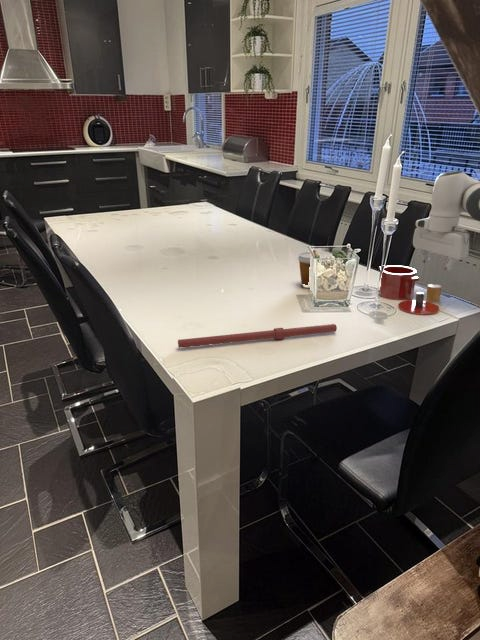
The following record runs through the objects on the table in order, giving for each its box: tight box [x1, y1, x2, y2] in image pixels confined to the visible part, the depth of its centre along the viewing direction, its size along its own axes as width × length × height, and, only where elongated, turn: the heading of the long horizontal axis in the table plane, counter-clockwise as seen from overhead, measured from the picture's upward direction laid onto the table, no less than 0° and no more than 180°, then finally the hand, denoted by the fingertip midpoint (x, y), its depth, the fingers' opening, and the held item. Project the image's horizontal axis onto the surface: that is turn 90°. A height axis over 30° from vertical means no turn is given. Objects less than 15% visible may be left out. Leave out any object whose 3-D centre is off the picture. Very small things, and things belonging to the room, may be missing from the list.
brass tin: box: [425, 283, 443, 303], centre depth 156 cm, size 4×4×6 cm
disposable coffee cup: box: [297, 251, 311, 285], centre depth 174 cm, size 10×10×12 cm
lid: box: [397, 291, 441, 316], centre depth 149 cm, size 13×13×6 cm
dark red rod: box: [177, 323, 338, 349], centre depth 129 cm, size 45×3×3 cm, turn 102°
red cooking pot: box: [378, 265, 420, 301], centre depth 161 cm, size 12×17×10 cm
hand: (436, 266), depth 153 cm, fingers open, 8 cm apart
